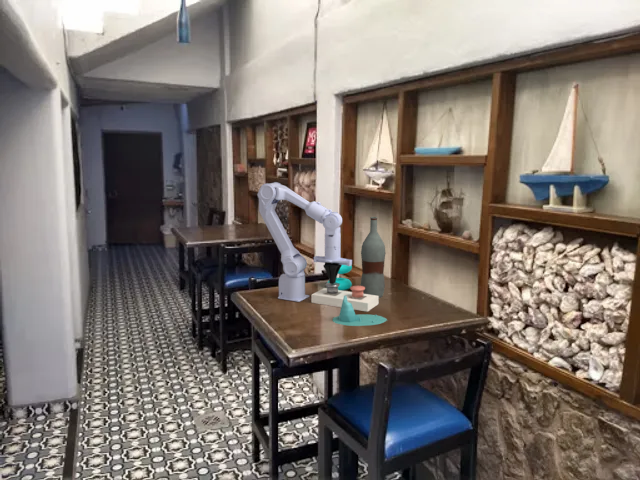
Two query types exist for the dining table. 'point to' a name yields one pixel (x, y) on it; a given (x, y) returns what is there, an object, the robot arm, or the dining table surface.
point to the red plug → (357, 291)
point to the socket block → (336, 299)
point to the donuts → (344, 282)
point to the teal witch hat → (355, 316)
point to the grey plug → (332, 288)
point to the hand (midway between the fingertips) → (332, 283)
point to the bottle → (373, 262)
